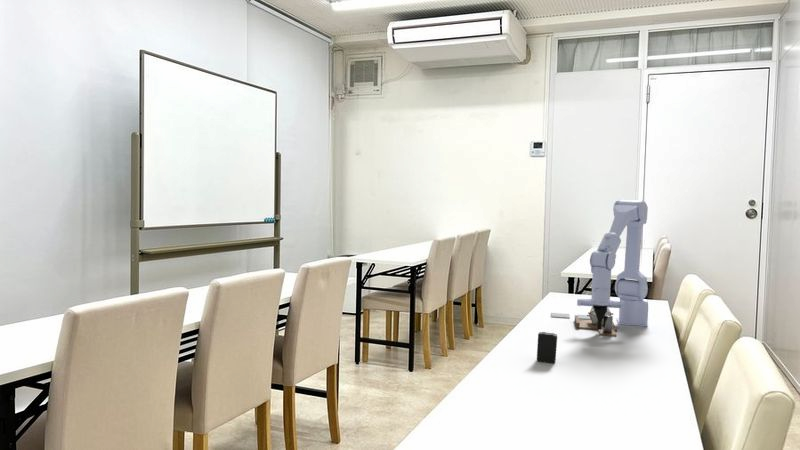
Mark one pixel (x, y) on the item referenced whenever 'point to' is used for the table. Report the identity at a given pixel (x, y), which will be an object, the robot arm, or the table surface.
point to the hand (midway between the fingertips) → (599, 328)
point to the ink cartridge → (546, 347)
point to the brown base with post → (606, 328)
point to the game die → (594, 317)
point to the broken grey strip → (560, 315)
